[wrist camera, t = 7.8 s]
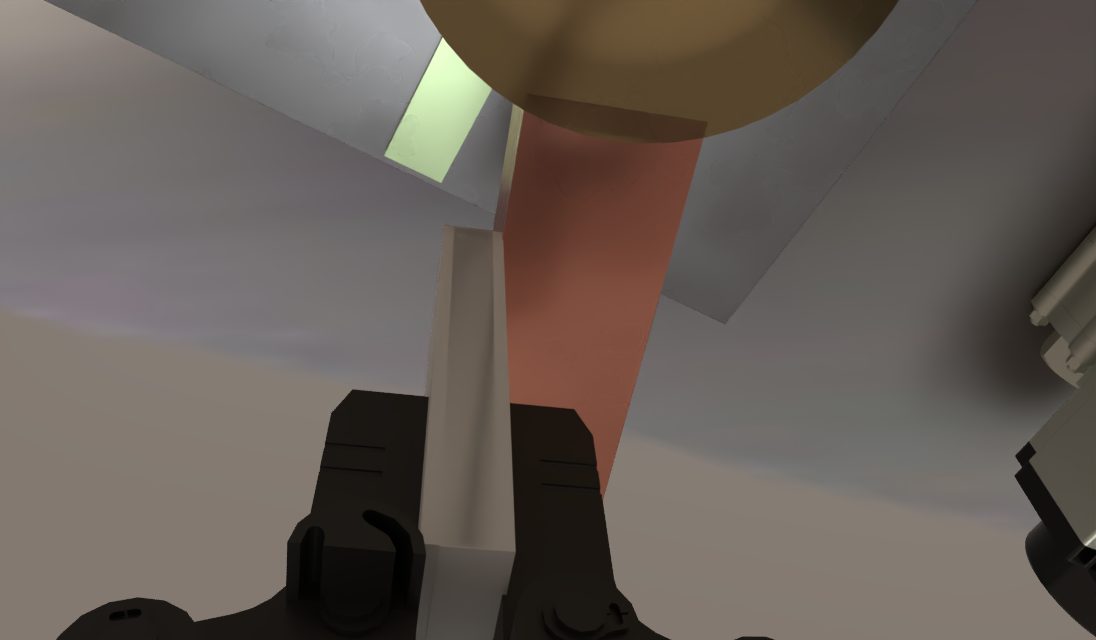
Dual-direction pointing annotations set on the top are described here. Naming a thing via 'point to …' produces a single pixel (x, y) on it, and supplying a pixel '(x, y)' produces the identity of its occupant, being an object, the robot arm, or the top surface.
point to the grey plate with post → (484, 115)
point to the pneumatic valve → (1067, 442)
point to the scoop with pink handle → (621, 160)
